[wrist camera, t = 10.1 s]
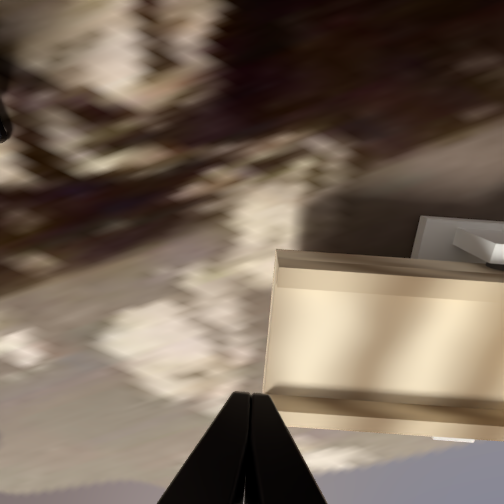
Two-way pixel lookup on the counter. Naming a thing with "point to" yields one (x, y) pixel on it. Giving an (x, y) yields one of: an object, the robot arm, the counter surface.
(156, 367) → the counter surface
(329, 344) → the beam
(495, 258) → the fulcrum
